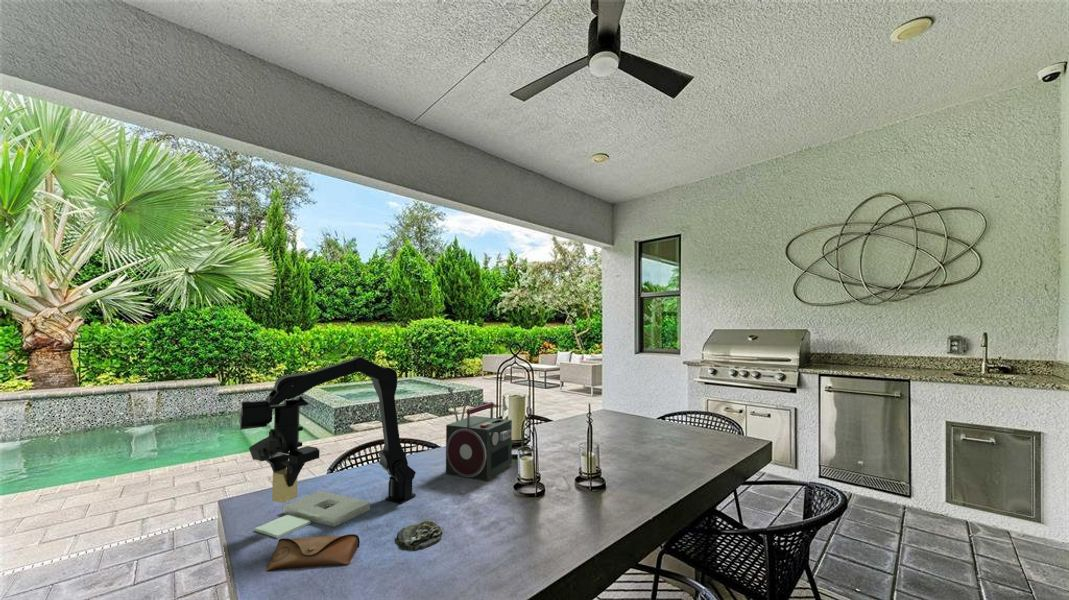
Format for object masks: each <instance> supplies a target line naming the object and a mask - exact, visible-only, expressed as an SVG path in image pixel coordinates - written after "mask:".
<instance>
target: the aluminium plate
mask: <svg viewBox="0 0 1069 600" xmlns="http://www.w3.org/2000/svg"><path fill="white" fill-rule="evenodd" d="M370 510H371V502H370V501H366V500H362V499H358V498H353V497H349V496H346V495H341V494H337V493H332V492H330V491H329V492H328V491H325V490H319V491H317V492H314V493H311V494H309V495H307V496H304V497H301V498H299V499H297V500H294V501H291V502H289V503H287V504H283V514H285V515H288V514H289V515H292V516H296V517H299V518H303V519H306V520H310V521H311V522H314V523H317V524H321V525H324V526H328V527H331V528H335V527H337V526H339V525H341V524H344V523H346V522H348V521H349V520H352V519H353V518H355V517H358V516H360V515H362V514H364V513H366V512H368V511H370Z"/></svg>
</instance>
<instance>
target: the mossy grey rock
mask: <svg viewBox="0 0 1069 600" xmlns="http://www.w3.org/2000/svg"><path fill="white" fill-rule="evenodd" d="M436 523H437V522H436V521H435V522H434V521H433V520H423V521H421V522H420V523H417V524H411V525H408V526H406V527H402V529H400V530H399V531H398V532H397V534H396V537H395V544H396V545H397V546H398V548H400V549H402V550H403V551H404V550H405V551H413V552H415V551H416V552H417V551H419V550H426V549H427V548H429V547H432V546H434V545H436V544H438V543H439V542H440V541H441V540H442V536H443V531H442V530H443V527H441V526H440V525H438V524H436Z"/></svg>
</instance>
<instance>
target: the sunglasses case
mask: <svg viewBox="0 0 1069 600" xmlns="http://www.w3.org/2000/svg"><path fill="white" fill-rule="evenodd" d="M360 542H361V541H360V537H359V535H357V534H353V533H350V534H344V535H331V536H326V535H325V536H313V537H311V536H310V537H301V538H288V537H287V538H279V540H278V542H277V544H276V546H275V549H274V552H273V553H272V556H271V559H270V561H269V563H268V566H267V567H266V569H265V570H264V572H272V571H280V570H288V569H289V570H290V569H301V568H312V567H313V568H314V567H327V566H328V567H330V566H333V567H334V566H348V565H350V564H351V561H352V560H353V558H354V556H355V554H356V552H358V549H359V548H360V546H361V544H360Z"/></svg>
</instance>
